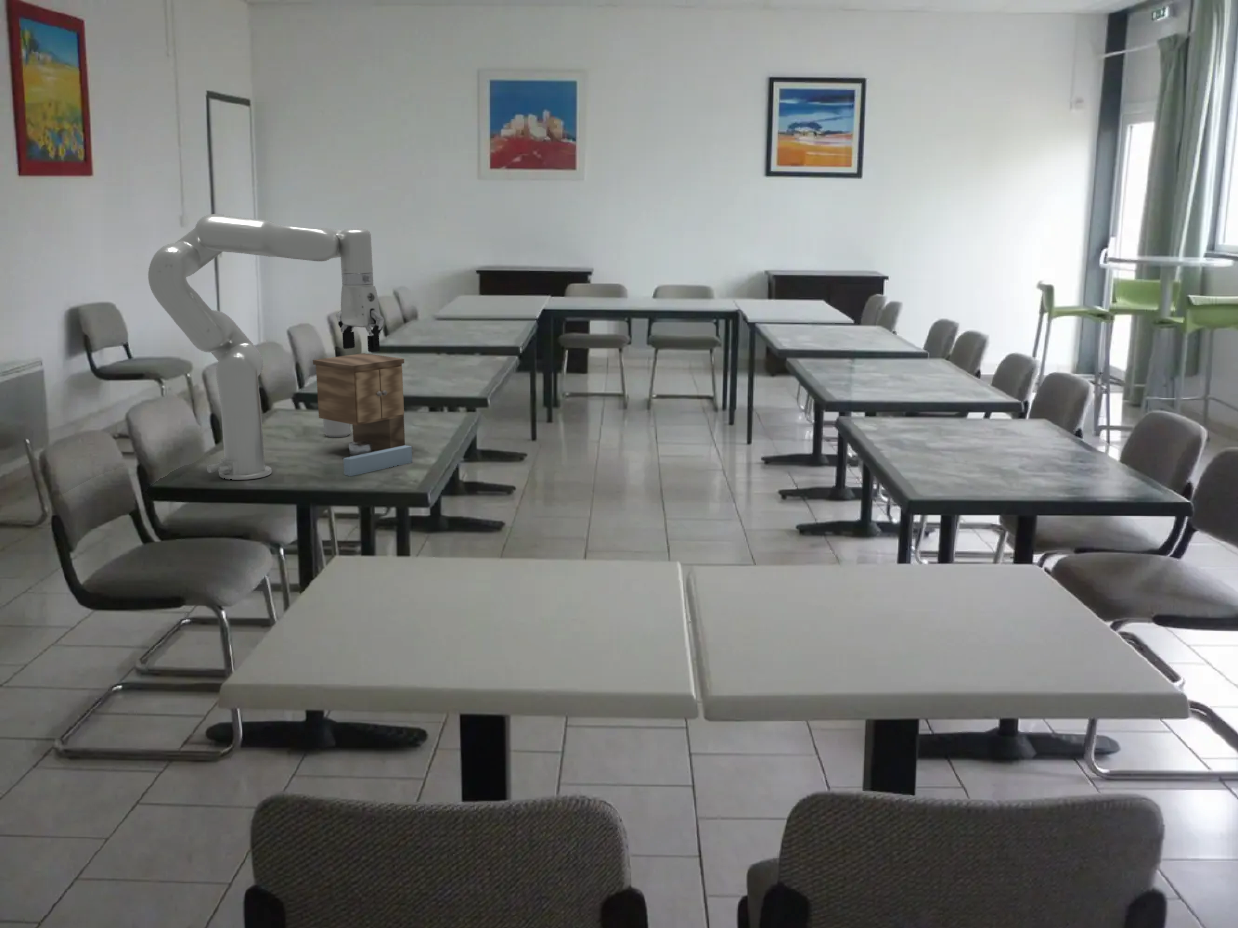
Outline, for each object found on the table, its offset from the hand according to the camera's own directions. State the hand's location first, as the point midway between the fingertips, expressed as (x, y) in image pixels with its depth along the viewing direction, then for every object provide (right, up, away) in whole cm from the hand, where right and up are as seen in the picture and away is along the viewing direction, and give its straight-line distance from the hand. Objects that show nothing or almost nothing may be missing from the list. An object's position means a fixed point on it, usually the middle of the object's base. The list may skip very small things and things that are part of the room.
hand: (361, 349), depth 306 cm
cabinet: (-6, -25, +29) cm, 39 cm away
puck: (-5, -26, +25) cm, 36 cm away
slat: (+2, -30, +10) cm, 31 cm away
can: (-17, -20, +51) cm, 57 cm away
